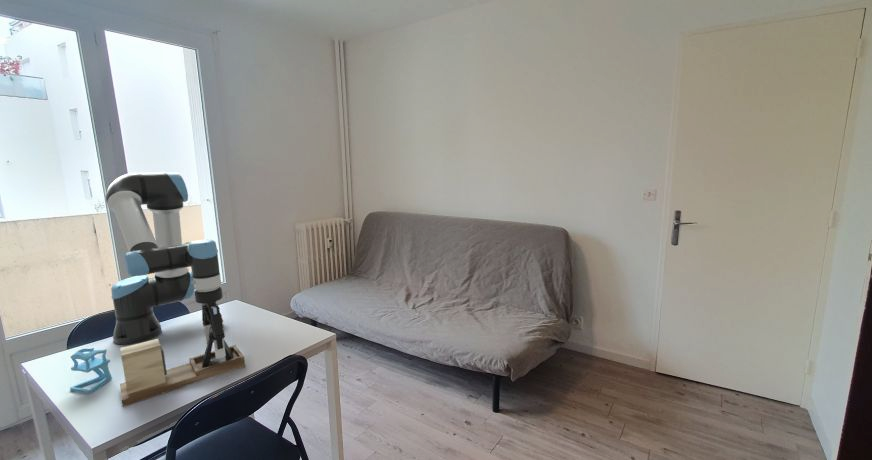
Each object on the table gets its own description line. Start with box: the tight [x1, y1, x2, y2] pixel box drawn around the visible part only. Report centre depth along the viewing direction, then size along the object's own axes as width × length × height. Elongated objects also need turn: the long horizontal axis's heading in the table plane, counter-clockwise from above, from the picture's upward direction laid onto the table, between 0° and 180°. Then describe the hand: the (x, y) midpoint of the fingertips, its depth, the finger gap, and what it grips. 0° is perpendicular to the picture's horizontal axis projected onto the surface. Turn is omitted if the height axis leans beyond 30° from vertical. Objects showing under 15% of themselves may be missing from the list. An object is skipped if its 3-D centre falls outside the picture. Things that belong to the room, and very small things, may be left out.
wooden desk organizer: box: [119, 344, 246, 408], centre depth 121 cm, size 11×32×4 cm, turn 131°
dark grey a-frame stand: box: [202, 326, 233, 368], centre depth 126 cm, size 9×6×12 cm, turn 119°
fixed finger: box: [119, 338, 167, 394], centre depth 114 cm, size 6×10×12 cm, turn 131°
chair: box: [69, 347, 113, 394], centre depth 117 cm, size 8×8×12 cm
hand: (215, 349), depth 126 cm, fingers open, 13 cm apart
